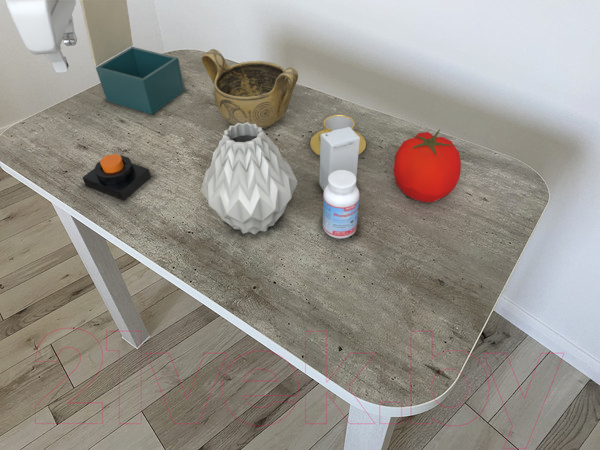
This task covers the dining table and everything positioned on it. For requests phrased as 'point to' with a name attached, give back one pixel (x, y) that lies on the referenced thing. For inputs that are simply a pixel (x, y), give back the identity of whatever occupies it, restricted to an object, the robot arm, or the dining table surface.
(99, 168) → the push button housing
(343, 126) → the cup
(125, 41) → the beige flat rectangular panel
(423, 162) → the tomato
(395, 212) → the dining table surface
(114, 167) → the flush button
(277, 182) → the vase
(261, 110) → the ceramic bowl
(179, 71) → the teal hollow open box
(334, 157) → the cosmetic box
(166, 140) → the dining table surface
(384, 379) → the dining table surface
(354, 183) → the pill bottle
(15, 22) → the robot arm
